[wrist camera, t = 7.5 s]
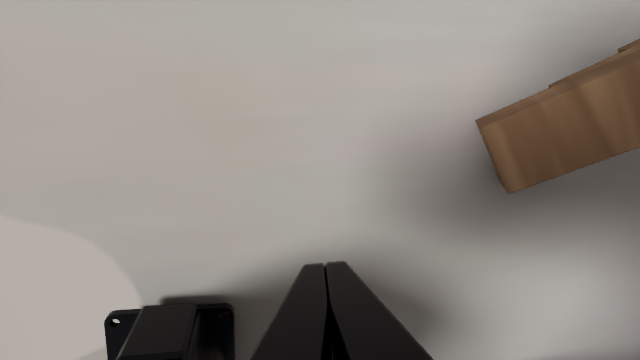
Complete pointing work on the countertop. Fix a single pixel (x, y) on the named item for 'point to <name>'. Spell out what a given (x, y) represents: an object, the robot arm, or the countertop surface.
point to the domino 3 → (629, 46)
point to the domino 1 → (566, 125)
